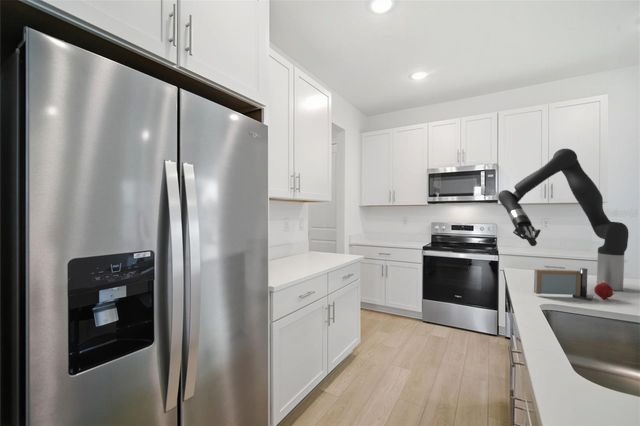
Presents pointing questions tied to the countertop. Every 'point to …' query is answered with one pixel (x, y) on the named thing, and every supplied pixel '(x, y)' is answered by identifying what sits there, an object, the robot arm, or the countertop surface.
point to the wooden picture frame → (557, 282)
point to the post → (583, 286)
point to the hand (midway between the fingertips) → (534, 245)
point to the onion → (603, 290)
